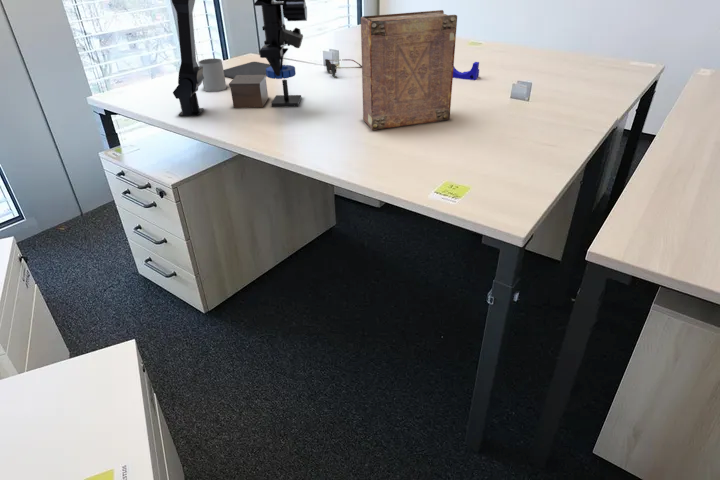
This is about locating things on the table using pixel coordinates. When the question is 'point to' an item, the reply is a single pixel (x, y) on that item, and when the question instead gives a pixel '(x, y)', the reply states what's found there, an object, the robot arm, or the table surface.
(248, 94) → the box
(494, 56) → the table surface
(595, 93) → the table surface
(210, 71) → the cup
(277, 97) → the peg stand
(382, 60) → the book
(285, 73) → the ring
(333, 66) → the sunglasses
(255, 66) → the mouse pad
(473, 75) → the cable clip
